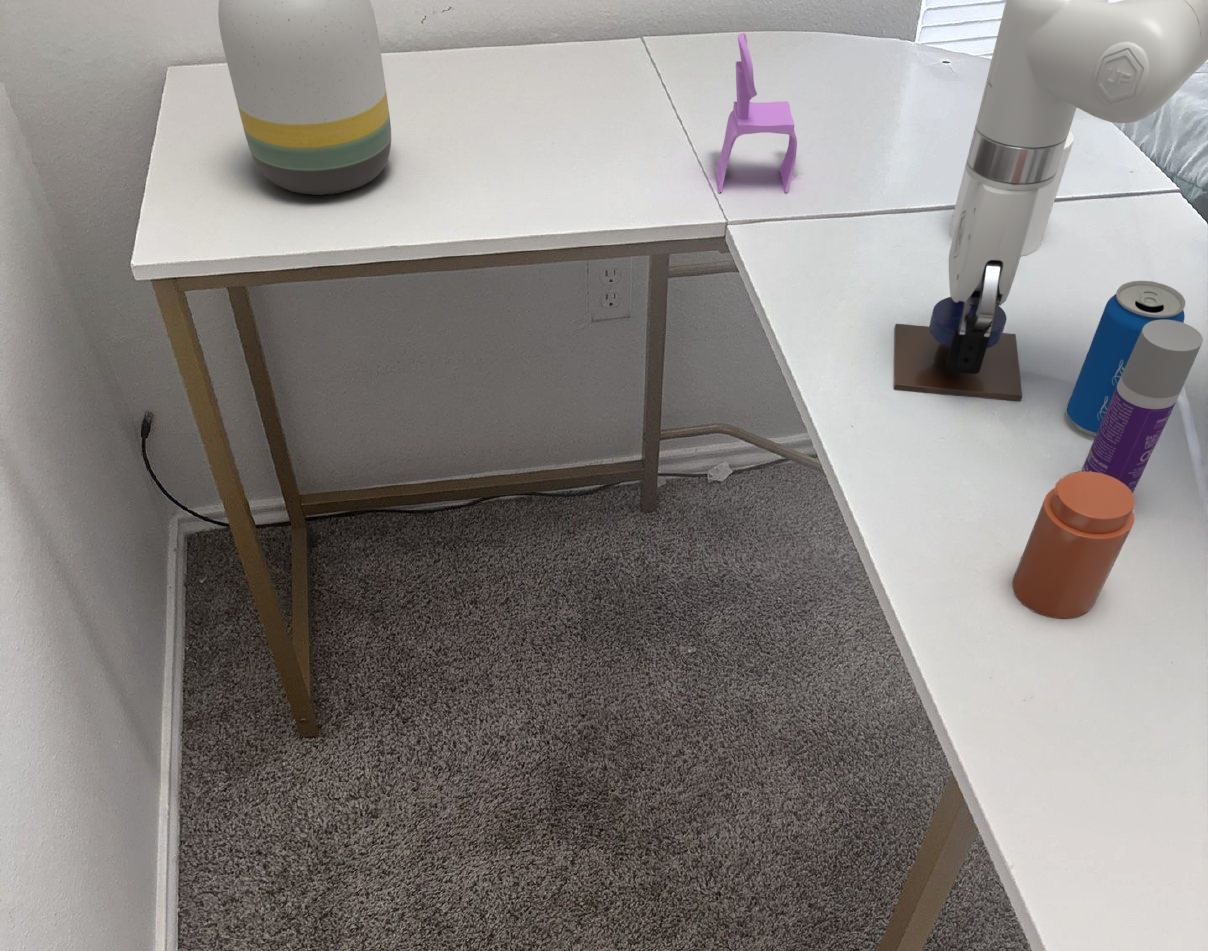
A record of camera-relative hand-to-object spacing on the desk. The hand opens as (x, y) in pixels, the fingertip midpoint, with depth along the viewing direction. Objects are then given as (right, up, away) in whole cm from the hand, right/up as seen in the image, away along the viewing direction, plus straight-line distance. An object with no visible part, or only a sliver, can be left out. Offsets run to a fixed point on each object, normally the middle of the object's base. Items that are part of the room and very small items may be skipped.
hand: (960, 348), depth 106 cm
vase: (-68, +32, +26) cm, 80 cm away
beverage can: (+11, -9, -4) cm, 15 cm away
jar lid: (0, +2, -2) cm, 3 cm away
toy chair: (-17, +30, +25) cm, 43 cm away
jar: (+2, -27, -18) cm, 33 cm away
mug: (+9, +19, +16) cm, 27 cm away
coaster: (0, -1, +1) cm, 2 cm away
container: (+9, -18, -11) cm, 22 cm away
